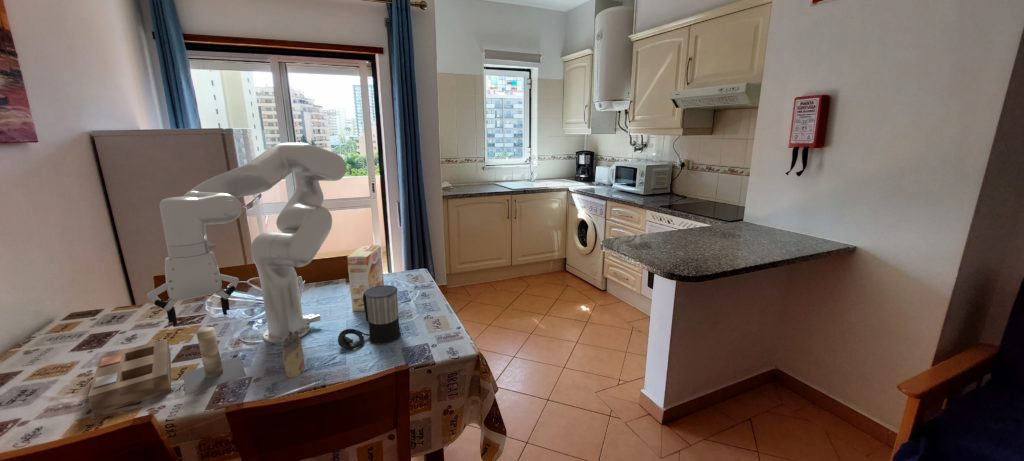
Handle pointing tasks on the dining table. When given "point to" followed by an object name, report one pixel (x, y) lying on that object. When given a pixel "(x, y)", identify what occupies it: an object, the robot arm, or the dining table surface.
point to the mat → (198, 380)
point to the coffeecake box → (364, 273)
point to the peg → (210, 352)
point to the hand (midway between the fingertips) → (200, 318)
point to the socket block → (131, 376)
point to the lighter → (293, 355)
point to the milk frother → (377, 318)
